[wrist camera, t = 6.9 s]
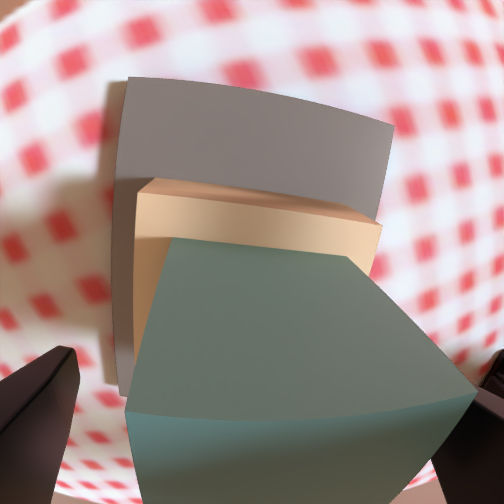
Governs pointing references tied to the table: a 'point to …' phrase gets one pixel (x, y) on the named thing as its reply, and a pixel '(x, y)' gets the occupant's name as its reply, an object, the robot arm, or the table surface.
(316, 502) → the teal block
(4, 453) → the robot arm
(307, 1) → the table surface
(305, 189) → the baseplate
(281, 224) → the maple base block
